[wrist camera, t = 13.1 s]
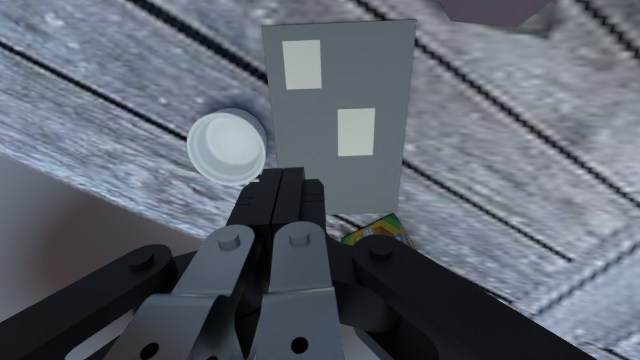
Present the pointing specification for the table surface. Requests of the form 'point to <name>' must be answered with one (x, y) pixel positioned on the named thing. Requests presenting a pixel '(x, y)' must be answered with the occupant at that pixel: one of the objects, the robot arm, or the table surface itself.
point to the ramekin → (228, 146)
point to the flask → (492, 11)
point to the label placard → (342, 107)
